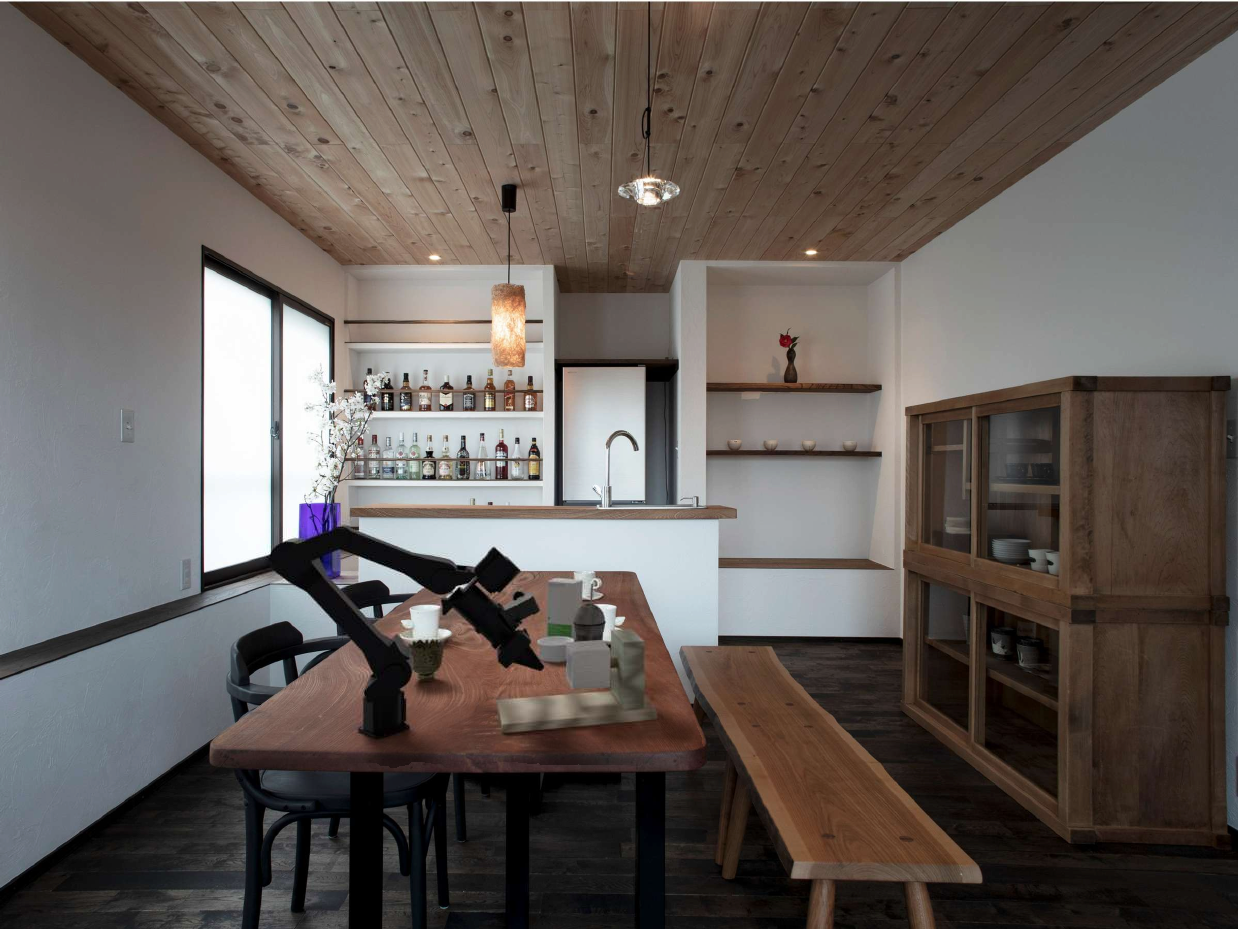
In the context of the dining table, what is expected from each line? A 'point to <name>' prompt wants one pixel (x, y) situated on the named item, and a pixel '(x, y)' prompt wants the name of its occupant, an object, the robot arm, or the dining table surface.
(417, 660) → the cup
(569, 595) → the skincare box
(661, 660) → the dining table surface
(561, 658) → the ramekin
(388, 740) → the dining table surface
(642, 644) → the l-shaped wooden stand
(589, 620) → the beverage cup
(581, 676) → the grey cube
